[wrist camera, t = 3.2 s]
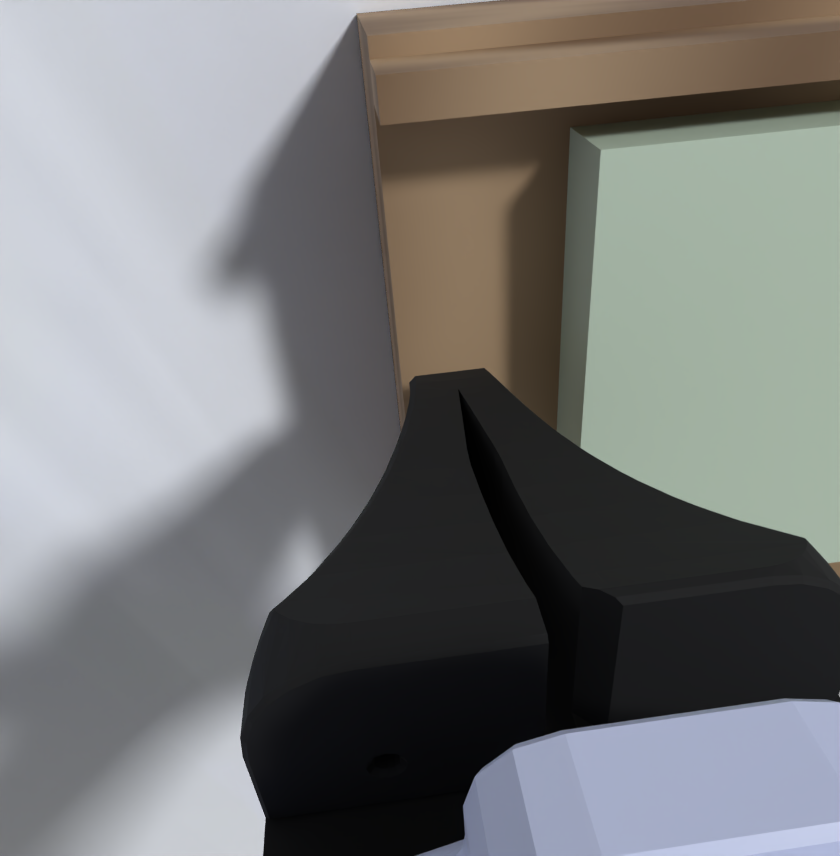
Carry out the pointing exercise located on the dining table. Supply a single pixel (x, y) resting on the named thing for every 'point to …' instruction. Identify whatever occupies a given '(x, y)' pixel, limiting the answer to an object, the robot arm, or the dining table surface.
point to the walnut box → (539, 149)
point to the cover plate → (710, 311)
